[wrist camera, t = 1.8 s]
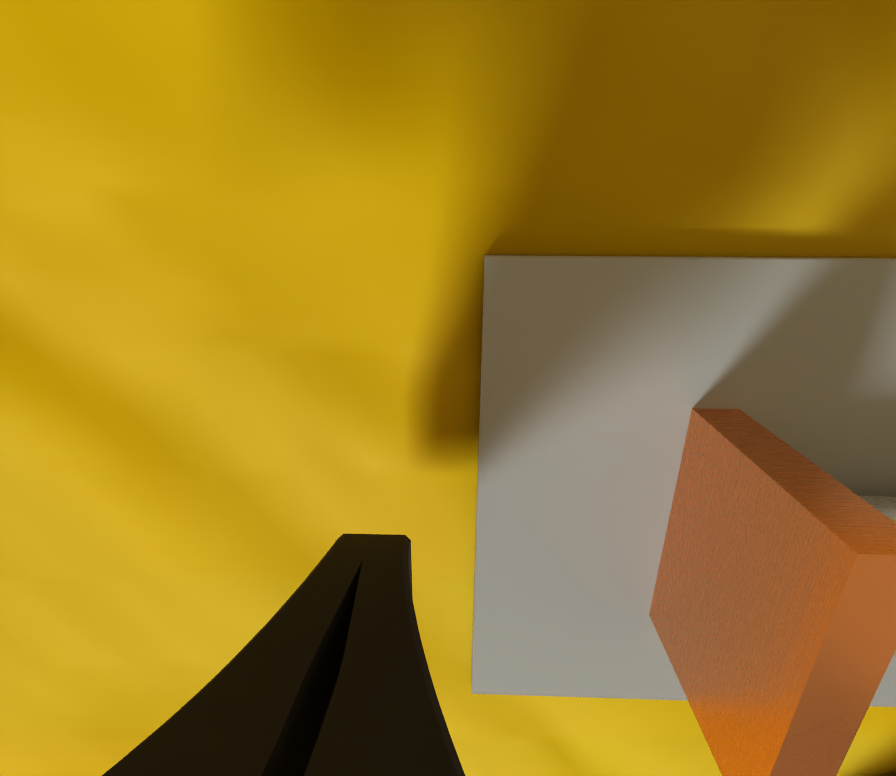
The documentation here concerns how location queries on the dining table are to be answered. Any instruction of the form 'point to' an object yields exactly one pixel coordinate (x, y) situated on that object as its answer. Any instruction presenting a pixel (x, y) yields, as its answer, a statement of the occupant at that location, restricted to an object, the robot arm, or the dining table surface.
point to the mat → (649, 437)
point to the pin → (773, 599)
